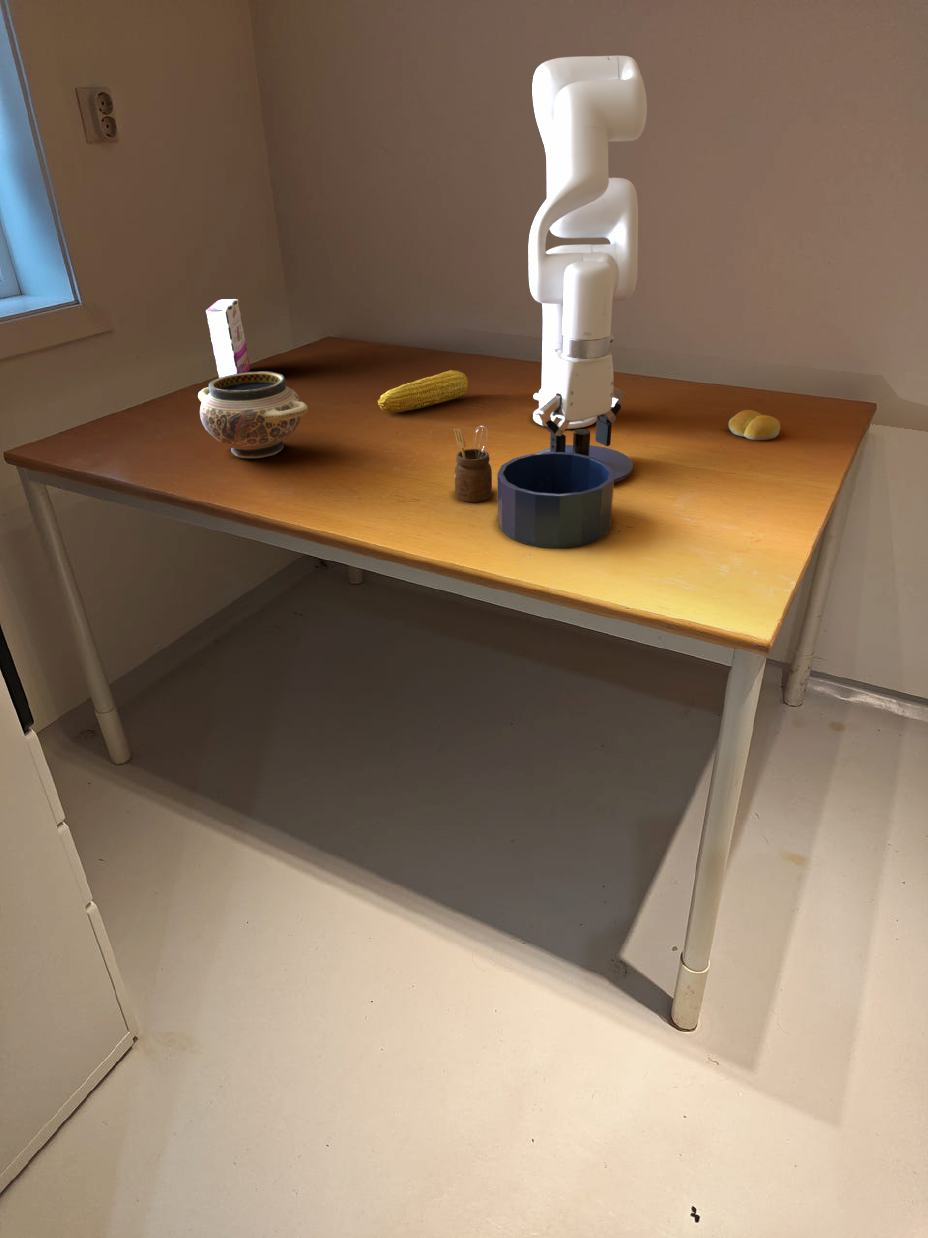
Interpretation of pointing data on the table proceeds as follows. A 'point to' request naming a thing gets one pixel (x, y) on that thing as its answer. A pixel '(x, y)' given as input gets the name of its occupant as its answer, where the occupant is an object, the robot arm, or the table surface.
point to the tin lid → (599, 454)
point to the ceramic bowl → (251, 412)
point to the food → (424, 392)
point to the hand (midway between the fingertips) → (580, 449)
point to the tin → (555, 499)
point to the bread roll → (754, 425)
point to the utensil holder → (472, 472)
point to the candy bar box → (228, 337)
